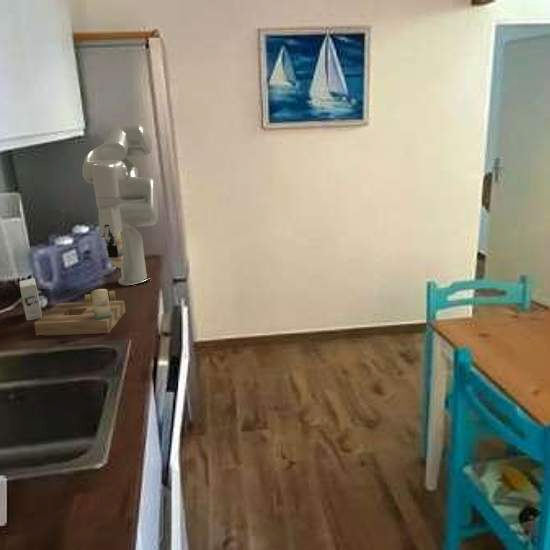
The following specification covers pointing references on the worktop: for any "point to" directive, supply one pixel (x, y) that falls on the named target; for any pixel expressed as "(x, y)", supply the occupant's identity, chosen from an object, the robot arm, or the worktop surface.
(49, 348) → the worktop surface
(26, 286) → the ink box
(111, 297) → the gavel
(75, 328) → the board
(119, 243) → the peg
